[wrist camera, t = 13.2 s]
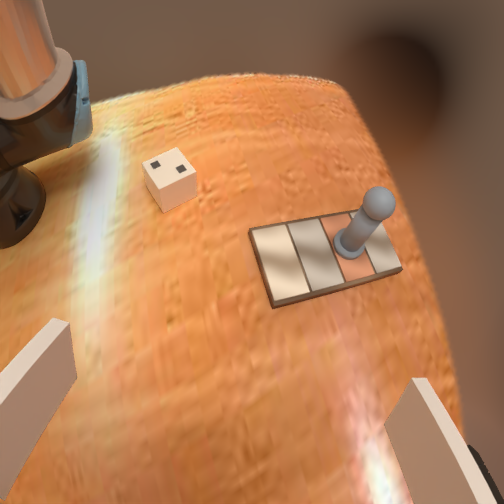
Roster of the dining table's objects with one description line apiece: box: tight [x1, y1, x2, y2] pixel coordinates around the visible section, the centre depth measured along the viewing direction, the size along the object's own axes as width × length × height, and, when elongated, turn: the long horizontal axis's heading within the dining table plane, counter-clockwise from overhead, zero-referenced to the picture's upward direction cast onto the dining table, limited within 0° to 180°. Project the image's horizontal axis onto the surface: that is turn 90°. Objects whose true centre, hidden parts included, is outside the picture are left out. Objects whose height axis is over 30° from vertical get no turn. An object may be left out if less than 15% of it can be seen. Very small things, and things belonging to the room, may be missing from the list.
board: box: [248, 209, 403, 309], centre depth 47 cm, size 12×22×2 cm, turn 106°
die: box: [142, 147, 197, 213], centre depth 47 cm, size 6×6×6 cm
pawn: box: [333, 187, 396, 260], centre depth 41 cm, size 5×5×13 cm
